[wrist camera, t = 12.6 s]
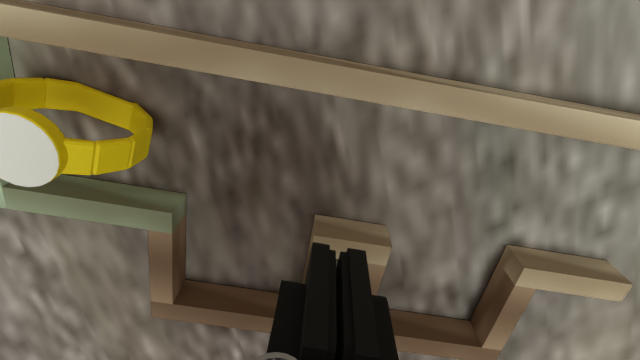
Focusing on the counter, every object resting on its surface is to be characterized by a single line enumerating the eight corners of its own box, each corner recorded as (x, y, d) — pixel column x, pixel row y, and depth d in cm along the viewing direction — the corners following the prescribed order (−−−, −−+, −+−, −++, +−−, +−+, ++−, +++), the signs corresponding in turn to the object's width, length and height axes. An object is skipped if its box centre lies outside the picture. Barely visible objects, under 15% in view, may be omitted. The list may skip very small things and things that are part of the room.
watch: (173, 100, 18) (119, 146, 12) (162, 149, 19) (109, 211, 13) (38, 53, 16) (-87, 82, 11) (35, 109, 17) (-79, 160, 12)
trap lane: (550, 346, 24) (569, 374, 22) (32, 272, 22) (6, 296, 20) (695, 124, 17) (737, 139, 15) (-31, -10, 15) (-78, -11, 14)
